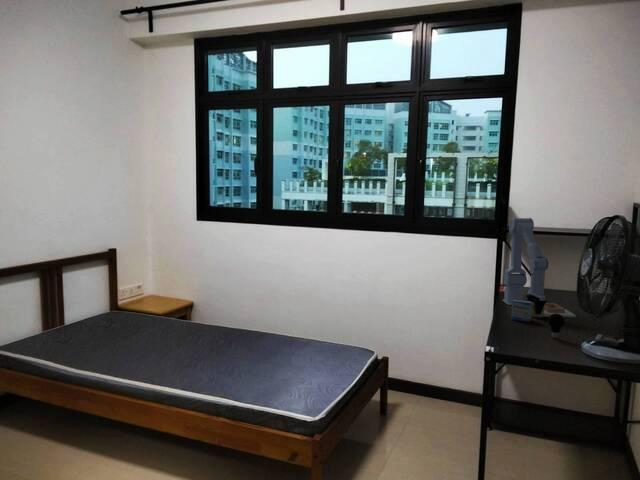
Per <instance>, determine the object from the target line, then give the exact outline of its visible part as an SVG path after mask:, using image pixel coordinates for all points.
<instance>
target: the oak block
mask: <svg viewBox="0 0 640 480" xmlns="http://www.w3.org/2000/svg"><path fill="white" fill-rule="evenodd" d="M531 318H544V307H543V309H542V312H541V314H535V305H534V302H532V309H531Z"/></svg>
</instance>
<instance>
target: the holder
mask: <svg viewBox="0 0 640 480" xmlns="http://www.w3.org/2000/svg"><path fill="white" fill-rule="evenodd" d="M552 314H560V315H561V316H563V318H577V315H576V314H574V313H572V312H571V311H569V310H568V309H566V308H564V307H562V306H560V305H559V304H557V303H551V302H549V303H547V302H546V303H545V305H544V316H543V318H544V317H545V318H546V317H547V318H549V316H550V315H552Z"/></svg>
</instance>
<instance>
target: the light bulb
mask: <svg viewBox="0 0 640 480" xmlns="http://www.w3.org/2000/svg"><path fill="white" fill-rule="evenodd" d="M547 318H548V319H547V322H548V325H549V326H550V331H551V336H552V338H554V339H557V338H559V337H560V336H559V335H560V332H561V329H562V328H563V327H564V325H565V321H566V320H565V317H563V316H561V315H560V314H552V315H550V316H549V317H547Z"/></svg>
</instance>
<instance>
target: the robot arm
mask: <svg viewBox="0 0 640 480" xmlns="http://www.w3.org/2000/svg"><path fill="white" fill-rule="evenodd" d="M508 223H509V224H508V233H509V235H511V238H510V239H511V241H510V243H511V244H510V245H511V246H510V267H507V269H505V270H504V275H503V282H504V283H503V284H504V285H505V288H504V294H503V295H504V297H503V299H502V302H504V303H505V304H507V305H508V306H512V302H513V299H515V300H522V298H523V297H522V295H523V288H524V287H525V286H526V284H527V282H528V279H527V272H526V270H525V269H523V268H522V261H523V260H522V257H523V256H522V255H523V239H524V241H525V243H526V245H527V247H526V253H527V255H528V258H529V263H528V266H529V273H530V287H529V289H527V290H528V292H527V294H526V295H525V296H526V299H527V301H531V302H534V305H535V314H541V312H542V309H543V307H544V305H545V303H547V302H548V300H547V299H546V296H545V293H544V291H545V281H546V280H545V278H546V270H548V269H549V260H548V258H547V257H546V255H543V252H542V250H541V247H540V245H539V244H538V243H536V240H535V235H534V232H533V230H534V227H535V223H534V220H533V218H531V217H529V218H528V217H525V218H524V217H523V218H522V217H517V218H516V217H511V219H510V220H509V222H508Z"/></svg>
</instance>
